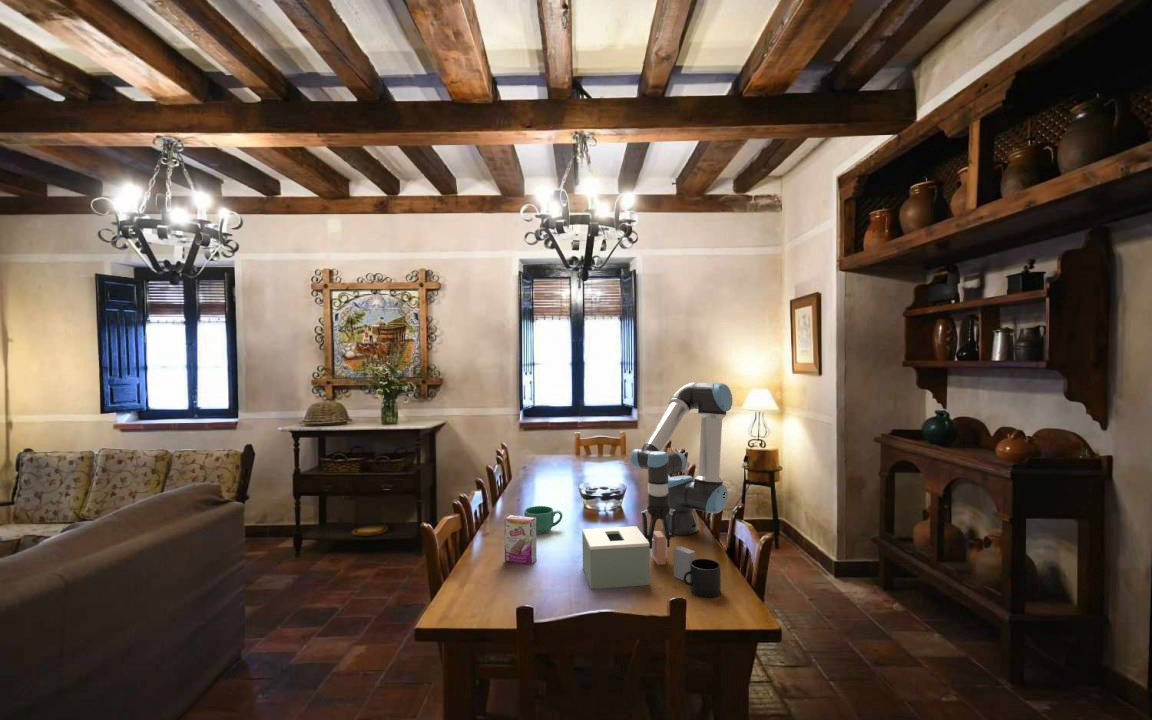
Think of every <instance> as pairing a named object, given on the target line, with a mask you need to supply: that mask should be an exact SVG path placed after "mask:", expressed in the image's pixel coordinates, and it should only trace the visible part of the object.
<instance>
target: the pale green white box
mask: <svg viewBox="0 0 1152 720" xmlns="http://www.w3.org/2000/svg"><path fill="white" fill-rule="evenodd" d="M581 530H582V533H581V535H582V537H581V539H582V541H581V543H582V570H583V573H584V575H585V577H586V580H587V582H588V586H589V588H590V590H596V589H608V588H609V589H610V588H624V587H625V588H626V587H638V586H639V587H641V586H651V573H650V569H651V568H650V566H651V565H650V562H651V561H650V557H651V549H649V542H648V539H646V538H645V537H644V535H643V532H642V531H640V529H639V528H638V526H637V525H636V526H633V525H632V526H619V527H618V526H617V527H615V526H614V527H600V528H599V527H598V528H597V527H596V528H582V529H581Z"/></svg>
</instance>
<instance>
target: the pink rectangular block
mask: <svg viewBox="0 0 1152 720" xmlns="http://www.w3.org/2000/svg"><path fill="white" fill-rule="evenodd" d="M653 539H654V546H655V558H652V560H654V562H655V563H656V564H657V565H660V566H661V565H666V563H667V562H666V560H667V559H666V558H667V557H666V547H665V534H664V533H662V531H661V530H654V533H653Z"/></svg>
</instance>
